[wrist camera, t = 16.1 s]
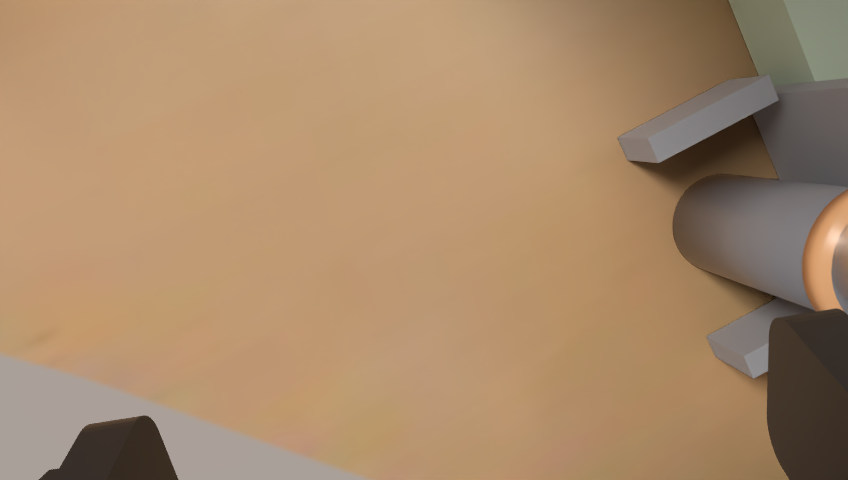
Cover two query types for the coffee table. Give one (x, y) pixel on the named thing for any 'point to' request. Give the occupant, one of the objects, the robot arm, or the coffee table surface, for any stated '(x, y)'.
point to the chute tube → (769, 236)
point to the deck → (770, 126)
